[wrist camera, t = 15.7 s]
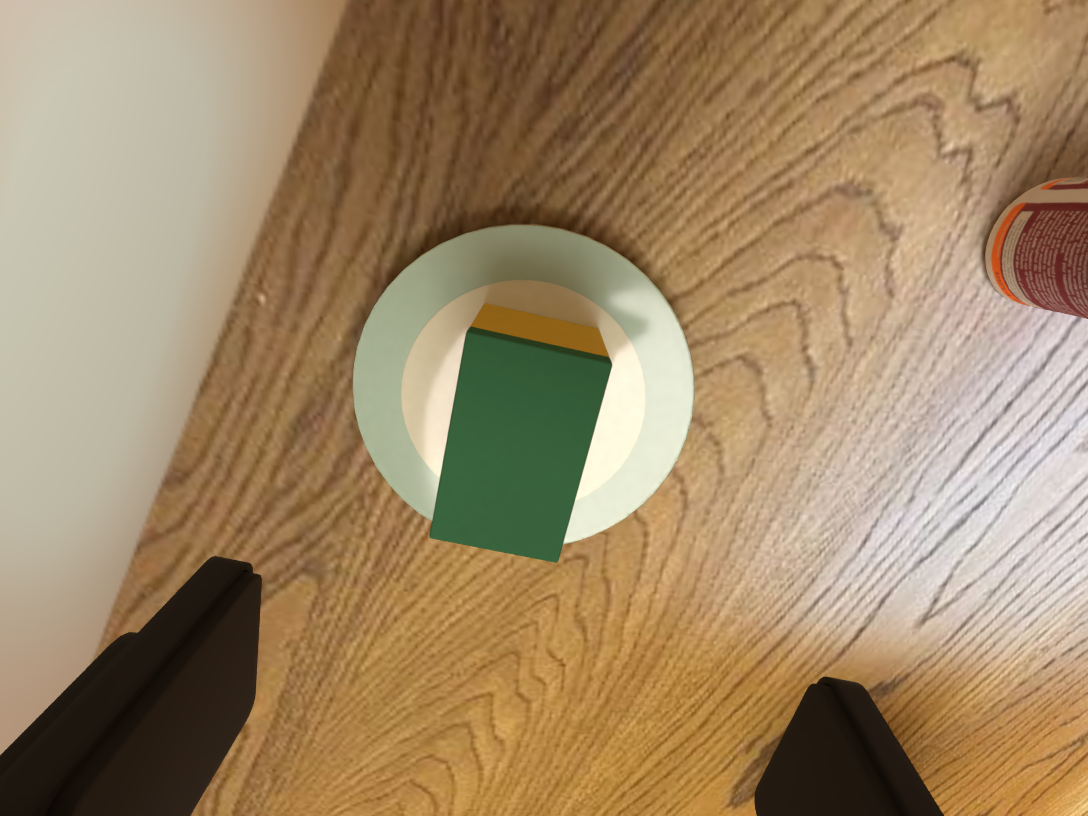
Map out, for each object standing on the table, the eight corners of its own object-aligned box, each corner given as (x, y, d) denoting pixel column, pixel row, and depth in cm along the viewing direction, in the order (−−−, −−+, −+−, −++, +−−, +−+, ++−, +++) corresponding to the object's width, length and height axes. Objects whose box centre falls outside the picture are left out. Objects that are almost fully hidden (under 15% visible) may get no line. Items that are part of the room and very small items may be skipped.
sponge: (483, 302, 22) (466, 331, 17) (599, 328, 22) (613, 363, 18) (451, 473, 24) (428, 538, 20) (556, 494, 25) (557, 563, 20)
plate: (382, 185, 22) (372, 184, 20) (733, 267, 23) (743, 271, 21) (345, 502, 26) (336, 516, 25) (637, 559, 27) (641, 575, 26)
